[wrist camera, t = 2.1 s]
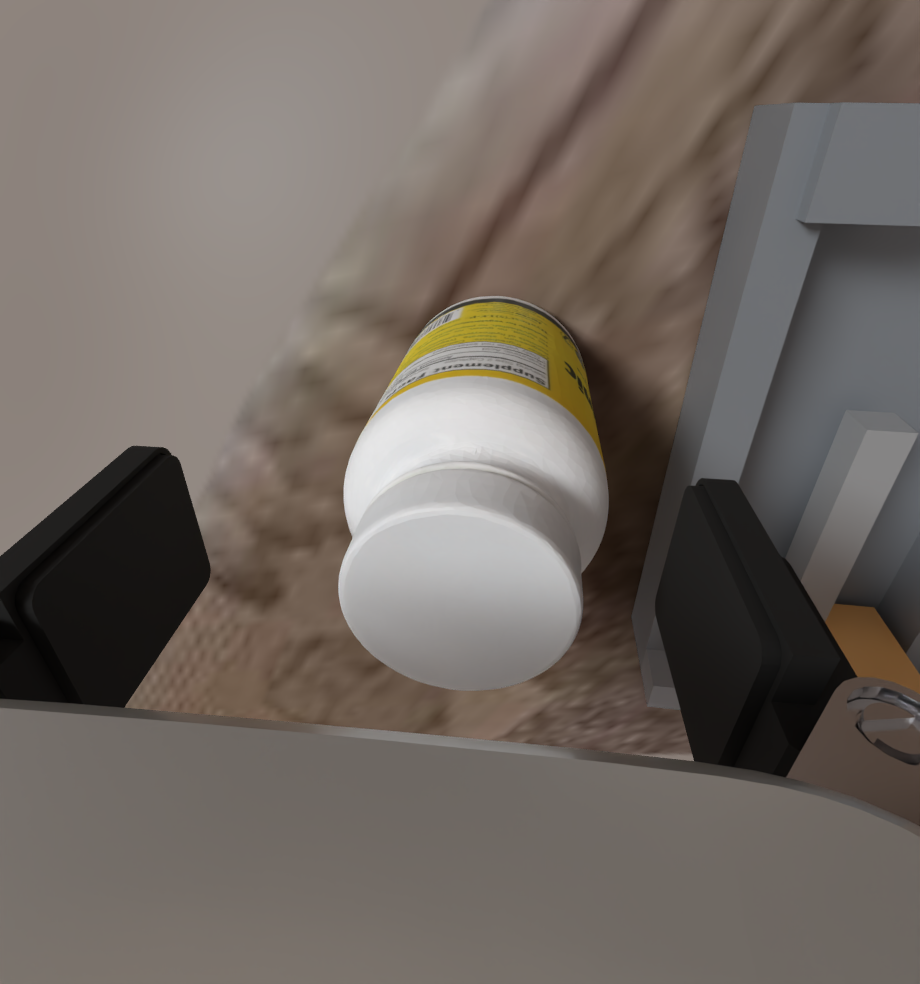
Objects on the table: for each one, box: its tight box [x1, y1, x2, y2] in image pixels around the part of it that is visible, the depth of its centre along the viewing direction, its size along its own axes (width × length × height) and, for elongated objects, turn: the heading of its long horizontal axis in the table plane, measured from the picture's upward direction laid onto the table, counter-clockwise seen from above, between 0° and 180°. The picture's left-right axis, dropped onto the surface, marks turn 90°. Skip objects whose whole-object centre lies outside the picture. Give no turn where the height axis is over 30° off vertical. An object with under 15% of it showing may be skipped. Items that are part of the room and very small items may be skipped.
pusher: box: [785, 410, 920, 694], centre depth 15 cm, size 6×8×6 cm
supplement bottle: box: [338, 296, 609, 691], centre depth 13 cm, size 5×5×10 cm
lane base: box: [631, 103, 920, 710], centre depth 15 cm, size 9×16×4 cm, turn 179°
